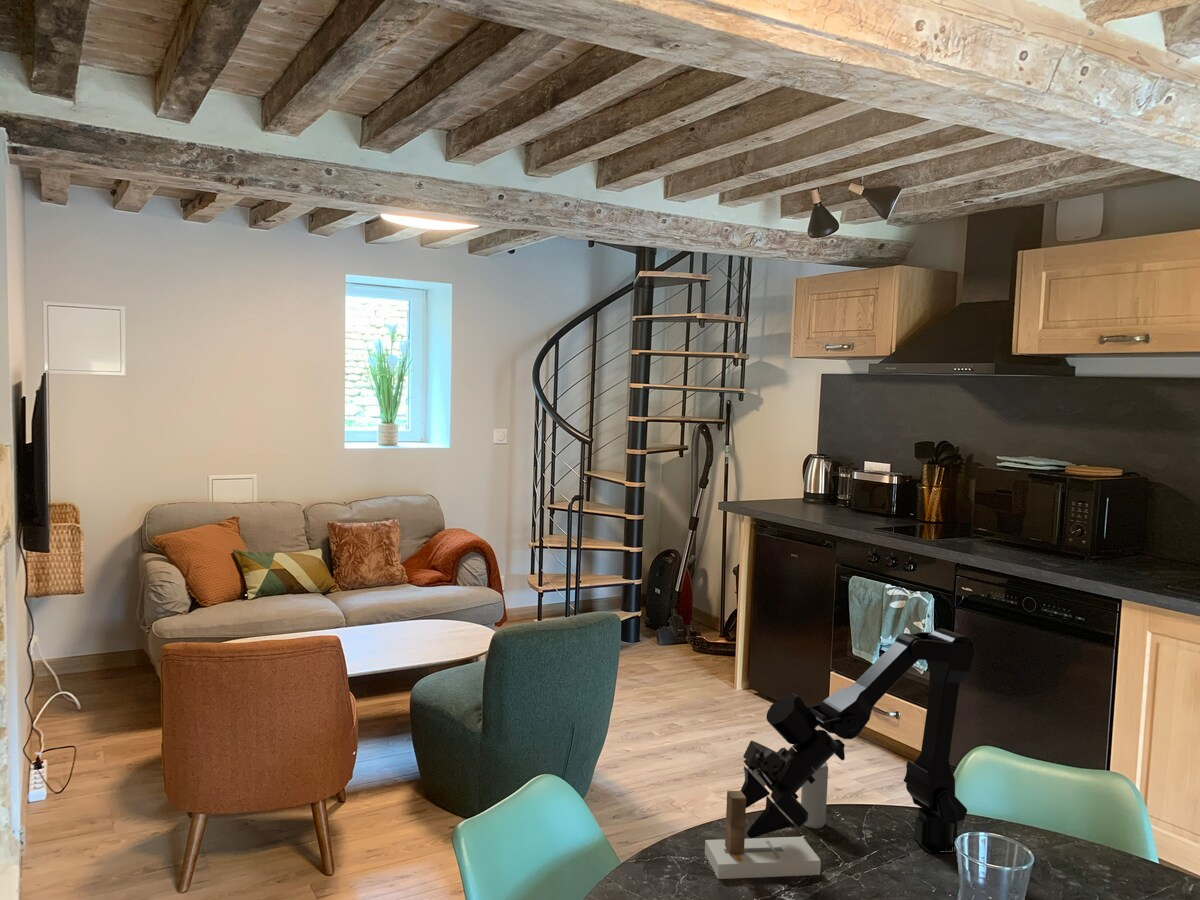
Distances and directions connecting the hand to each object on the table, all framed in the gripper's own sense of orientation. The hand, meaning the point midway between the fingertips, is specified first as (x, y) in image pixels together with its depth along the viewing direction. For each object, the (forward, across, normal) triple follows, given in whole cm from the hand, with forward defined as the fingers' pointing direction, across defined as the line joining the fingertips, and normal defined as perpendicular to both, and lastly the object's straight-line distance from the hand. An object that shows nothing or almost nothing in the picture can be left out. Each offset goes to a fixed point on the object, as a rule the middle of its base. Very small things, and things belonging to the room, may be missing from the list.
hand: (740, 823), depth 155 cm
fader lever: (+4, 0, +3) cm, 5 cm away
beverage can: (-8, -14, +19) cm, 25 cm away
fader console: (+2, 0, +8) cm, 8 cm away
